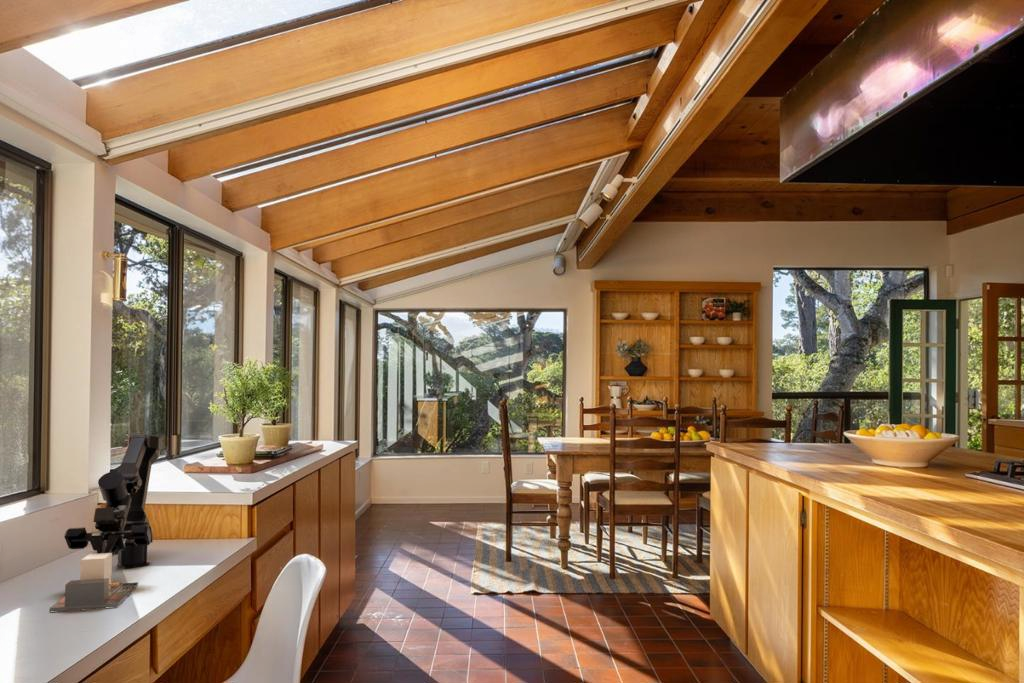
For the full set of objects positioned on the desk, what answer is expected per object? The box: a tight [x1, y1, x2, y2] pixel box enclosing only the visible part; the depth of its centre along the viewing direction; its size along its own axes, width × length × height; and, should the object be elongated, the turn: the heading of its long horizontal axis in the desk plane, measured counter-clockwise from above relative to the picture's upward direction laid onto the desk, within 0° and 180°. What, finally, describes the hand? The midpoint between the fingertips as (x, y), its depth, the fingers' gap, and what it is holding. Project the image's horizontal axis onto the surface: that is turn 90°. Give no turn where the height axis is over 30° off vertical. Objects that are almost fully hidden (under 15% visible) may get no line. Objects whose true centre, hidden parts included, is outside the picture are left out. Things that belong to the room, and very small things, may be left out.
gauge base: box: [49, 578, 139, 613], centre depth 171 cm, size 18×14×6 cm
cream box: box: [79, 553, 120, 592], centre depth 170 cm, size 6×10×9 cm, turn 105°
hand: (100, 566), depth 173 cm, fingers closed
